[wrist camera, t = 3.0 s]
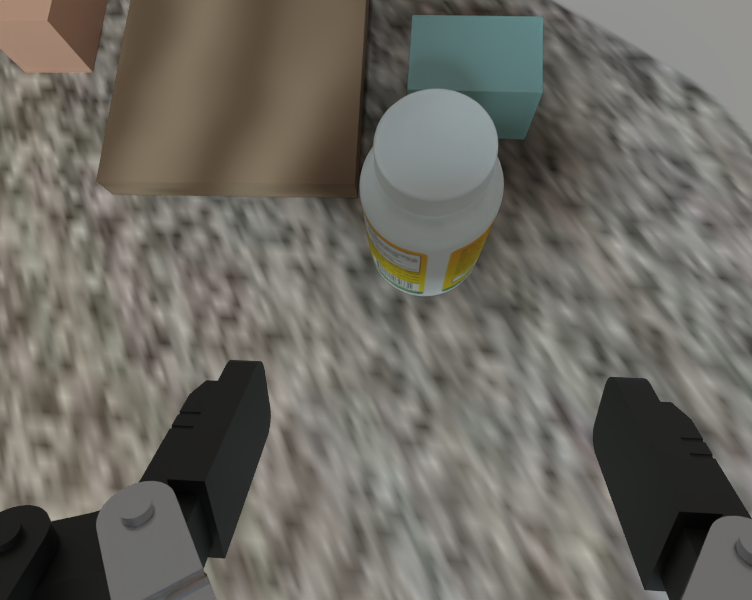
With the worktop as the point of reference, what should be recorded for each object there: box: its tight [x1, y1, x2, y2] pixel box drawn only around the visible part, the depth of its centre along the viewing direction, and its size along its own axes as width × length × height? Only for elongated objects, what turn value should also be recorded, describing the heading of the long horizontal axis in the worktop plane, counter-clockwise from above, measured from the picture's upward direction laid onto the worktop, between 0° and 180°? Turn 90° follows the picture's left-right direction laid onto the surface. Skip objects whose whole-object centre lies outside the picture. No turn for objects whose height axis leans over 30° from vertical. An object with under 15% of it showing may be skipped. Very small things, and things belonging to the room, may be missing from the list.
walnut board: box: [96, 0, 369, 198], centre depth 28 cm, size 13×13×2 cm
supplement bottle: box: [359, 89, 504, 296], centre depth 21 cm, size 5×5×10 cm
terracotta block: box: [0, 0, 107, 73], centre depth 29 cm, size 6×4×4 cm, turn 177°
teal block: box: [407, 15, 543, 140], centre depth 26 cm, size 6×4×4 cm, turn 86°
